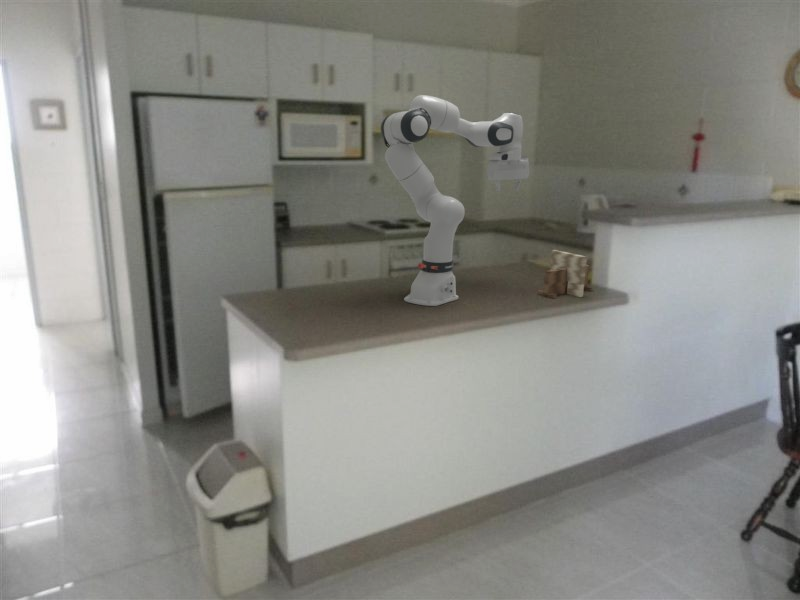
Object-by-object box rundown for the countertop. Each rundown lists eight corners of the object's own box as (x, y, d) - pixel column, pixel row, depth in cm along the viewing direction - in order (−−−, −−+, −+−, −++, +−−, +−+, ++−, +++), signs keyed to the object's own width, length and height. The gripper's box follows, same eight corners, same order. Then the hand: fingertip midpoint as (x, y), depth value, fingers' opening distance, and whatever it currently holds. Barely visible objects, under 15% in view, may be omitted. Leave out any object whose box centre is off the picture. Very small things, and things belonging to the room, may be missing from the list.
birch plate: (548, 288, 247) (551, 250, 242) (551, 287, 248) (555, 249, 244) (579, 297, 234) (583, 257, 230) (582, 296, 235) (587, 256, 231)
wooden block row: (552, 298, 231) (554, 273, 229) (537, 294, 238) (539, 269, 235) (592, 290, 244) (595, 266, 242) (577, 286, 251) (579, 263, 248)
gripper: (522, 155, 244) (520, 189, 248) (485, 155, 233) (483, 191, 237) (534, 155, 239) (531, 190, 243) (496, 156, 228) (494, 192, 232)
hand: (507, 190), depth 240 cm, fingers open, 8 cm apart
